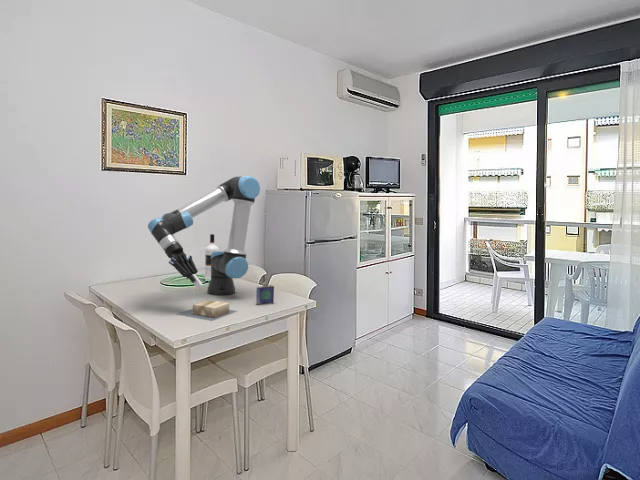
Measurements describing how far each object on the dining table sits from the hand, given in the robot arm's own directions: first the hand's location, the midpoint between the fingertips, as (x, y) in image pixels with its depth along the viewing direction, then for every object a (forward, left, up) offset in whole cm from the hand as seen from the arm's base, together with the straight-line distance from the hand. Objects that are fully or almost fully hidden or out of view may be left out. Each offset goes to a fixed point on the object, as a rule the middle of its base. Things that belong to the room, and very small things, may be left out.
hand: (200, 287), depth 177 cm
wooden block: (0, +1, -9) cm, 9 cm away
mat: (+4, +1, -12) cm, 12 cm away
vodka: (-43, +61, -12) cm, 76 cm away
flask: (+16, +30, -12) cm, 36 cm away
